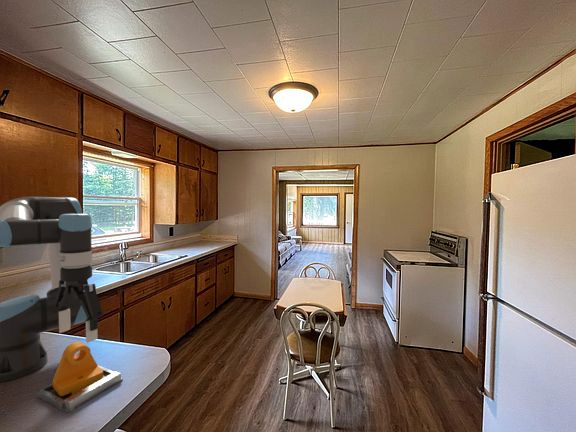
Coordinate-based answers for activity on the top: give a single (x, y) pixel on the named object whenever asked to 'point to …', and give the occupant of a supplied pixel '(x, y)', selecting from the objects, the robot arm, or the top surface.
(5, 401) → the top surface
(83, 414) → the top surface
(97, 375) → the bracket
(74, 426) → the top surface
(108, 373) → the tray
